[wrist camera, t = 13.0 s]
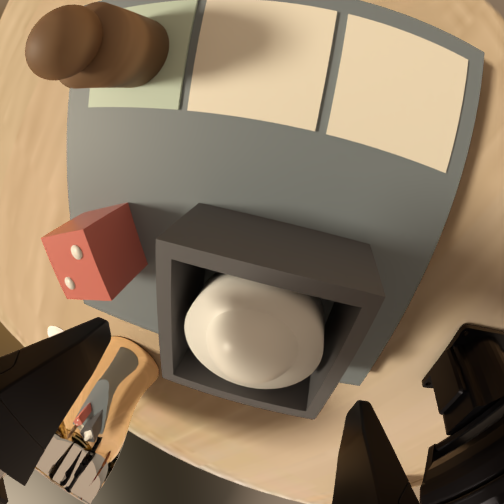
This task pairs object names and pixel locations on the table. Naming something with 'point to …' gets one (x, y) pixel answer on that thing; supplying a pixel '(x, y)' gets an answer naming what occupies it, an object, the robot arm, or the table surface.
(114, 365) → the beer glass
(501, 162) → the table surface
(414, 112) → the game board
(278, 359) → the dome button
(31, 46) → the walnut pawn
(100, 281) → the red die
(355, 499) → the robot arm
